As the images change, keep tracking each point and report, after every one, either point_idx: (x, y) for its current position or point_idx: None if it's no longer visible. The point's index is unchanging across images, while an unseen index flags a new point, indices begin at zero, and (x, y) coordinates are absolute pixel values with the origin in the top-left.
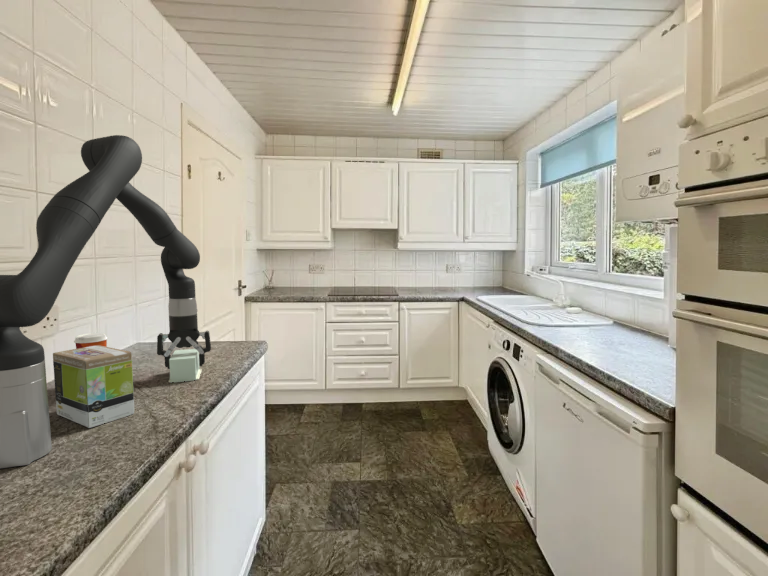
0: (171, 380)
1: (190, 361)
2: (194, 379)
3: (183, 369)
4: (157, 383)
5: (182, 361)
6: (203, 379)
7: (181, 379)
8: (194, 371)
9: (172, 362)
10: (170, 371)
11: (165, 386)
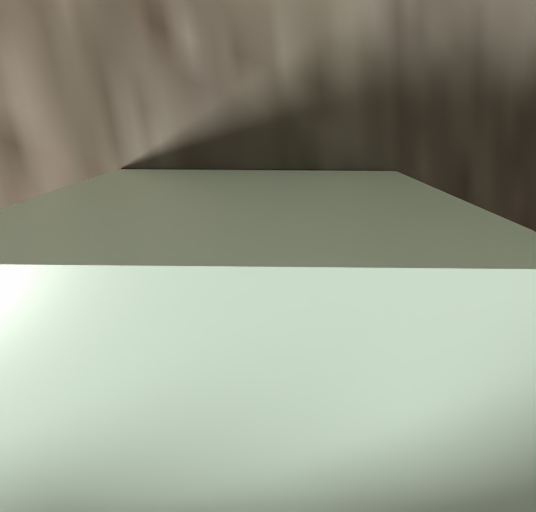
0: (390, 176)
1: (38, 233)
2: (128, 170)
3: (235, 197)
4: (531, 198)
5: (231, 238)
6: (39, 185)
7: (274, 174)
8: (79, 187)
9: (481, 240)
10: (443, 199)
11: (447, 34)
